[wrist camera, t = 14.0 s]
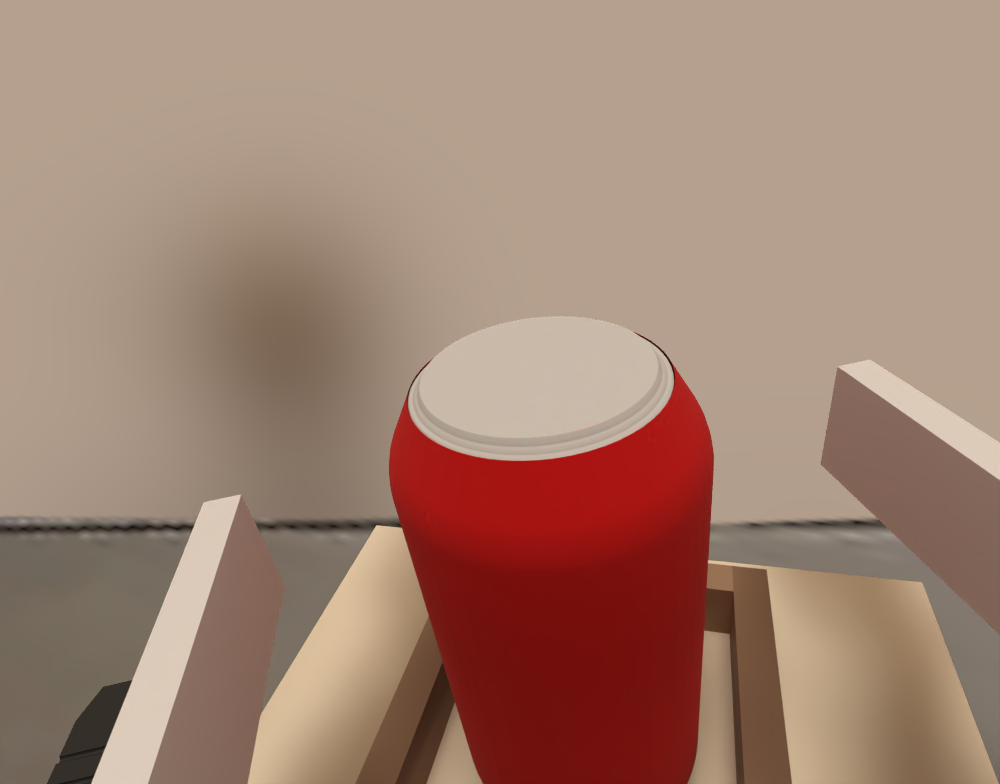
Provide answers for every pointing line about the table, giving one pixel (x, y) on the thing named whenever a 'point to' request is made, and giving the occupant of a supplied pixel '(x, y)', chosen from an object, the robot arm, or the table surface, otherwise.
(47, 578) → the table surface
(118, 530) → the table surface
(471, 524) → the beverage can
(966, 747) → the collar board
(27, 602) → the table surface
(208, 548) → the robot arm
